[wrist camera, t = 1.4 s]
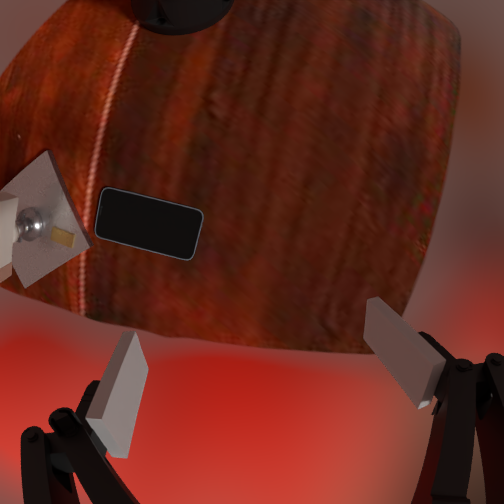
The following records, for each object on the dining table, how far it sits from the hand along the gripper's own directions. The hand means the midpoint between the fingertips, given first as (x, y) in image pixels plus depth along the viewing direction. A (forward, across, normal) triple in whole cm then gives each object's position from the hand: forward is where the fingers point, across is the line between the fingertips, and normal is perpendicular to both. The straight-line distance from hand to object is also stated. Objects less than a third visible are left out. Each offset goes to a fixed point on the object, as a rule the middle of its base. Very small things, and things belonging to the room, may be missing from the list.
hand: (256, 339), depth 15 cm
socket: (+26, -30, +6) cm, 41 cm away
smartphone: (+27, -12, +3) cm, 29 cm away
